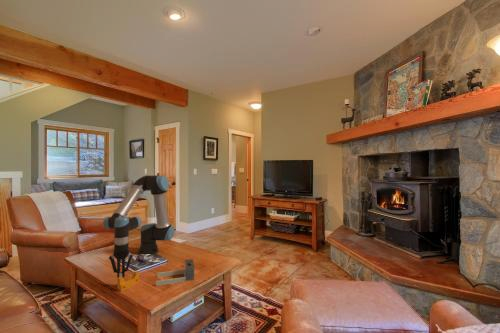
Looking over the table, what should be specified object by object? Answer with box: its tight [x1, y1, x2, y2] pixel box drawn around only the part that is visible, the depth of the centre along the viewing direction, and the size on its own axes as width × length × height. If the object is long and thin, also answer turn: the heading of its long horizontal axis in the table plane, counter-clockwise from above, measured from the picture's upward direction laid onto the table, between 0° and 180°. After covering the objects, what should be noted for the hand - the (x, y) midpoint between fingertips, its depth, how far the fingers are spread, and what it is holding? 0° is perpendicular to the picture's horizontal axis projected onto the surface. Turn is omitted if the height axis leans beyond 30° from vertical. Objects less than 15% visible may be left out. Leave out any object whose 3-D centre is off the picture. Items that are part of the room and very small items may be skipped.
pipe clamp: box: [116, 270, 140, 292], centre depth 141 cm, size 12×4×6 cm, turn 148°
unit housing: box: [184, 258, 195, 282], centre depth 153 cm, size 11×5×10 cm, turn 18°
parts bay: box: [155, 268, 187, 287], centre depth 149 cm, size 13×17×2 cm
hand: (120, 283), depth 141 cm, fingers closed
